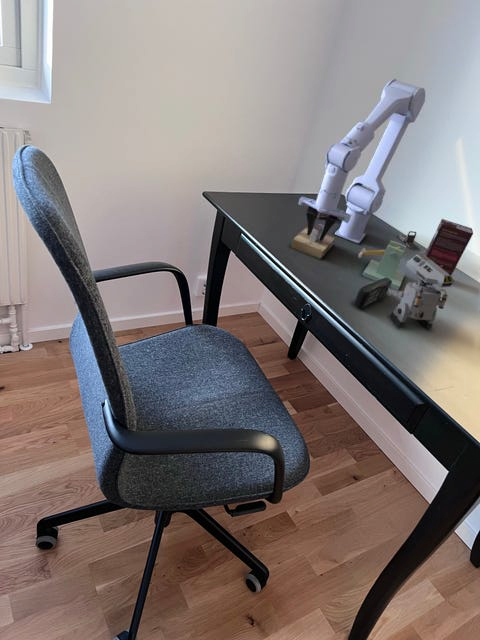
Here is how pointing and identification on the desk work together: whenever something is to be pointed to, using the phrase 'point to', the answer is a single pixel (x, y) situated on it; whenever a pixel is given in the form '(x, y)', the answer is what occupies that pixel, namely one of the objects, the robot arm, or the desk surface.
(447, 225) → the supplement box
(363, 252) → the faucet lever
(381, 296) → the dark grey piece
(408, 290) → the figurine
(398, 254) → the green lever mechanism
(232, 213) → the desk surface
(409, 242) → the strap clip
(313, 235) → the grey rectangular block
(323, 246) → the panel
